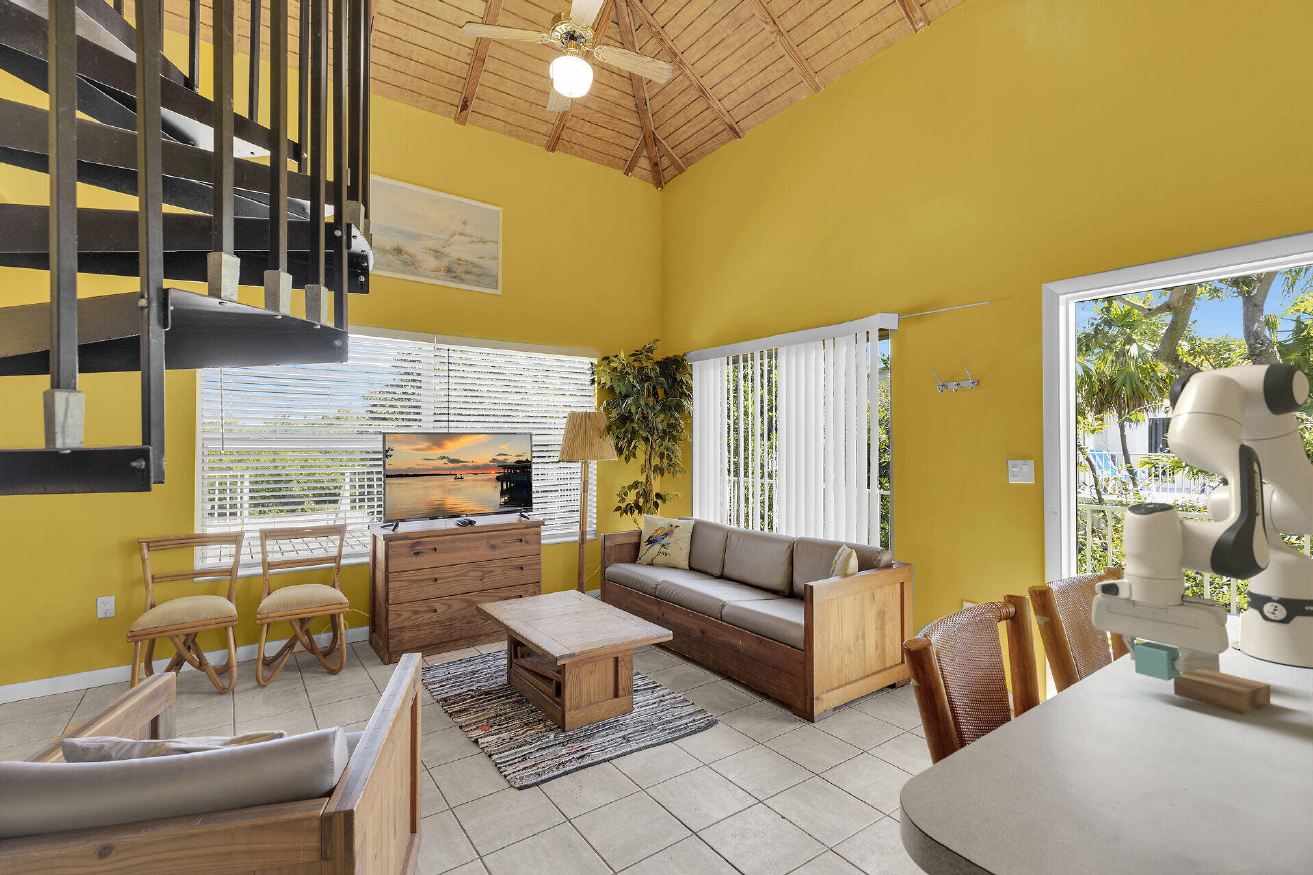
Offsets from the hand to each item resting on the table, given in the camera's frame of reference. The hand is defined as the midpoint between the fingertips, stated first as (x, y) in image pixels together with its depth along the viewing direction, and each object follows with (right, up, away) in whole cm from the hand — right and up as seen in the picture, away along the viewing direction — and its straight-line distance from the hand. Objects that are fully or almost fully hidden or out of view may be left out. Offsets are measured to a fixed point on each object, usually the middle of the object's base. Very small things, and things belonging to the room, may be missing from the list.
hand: (1157, 664), depth 114 cm
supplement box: (+16, -7, +12) cm, 22 cm away
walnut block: (+11, -7, -1) cm, 13 cm away
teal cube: (0, -2, 0) cm, 2 cm away
